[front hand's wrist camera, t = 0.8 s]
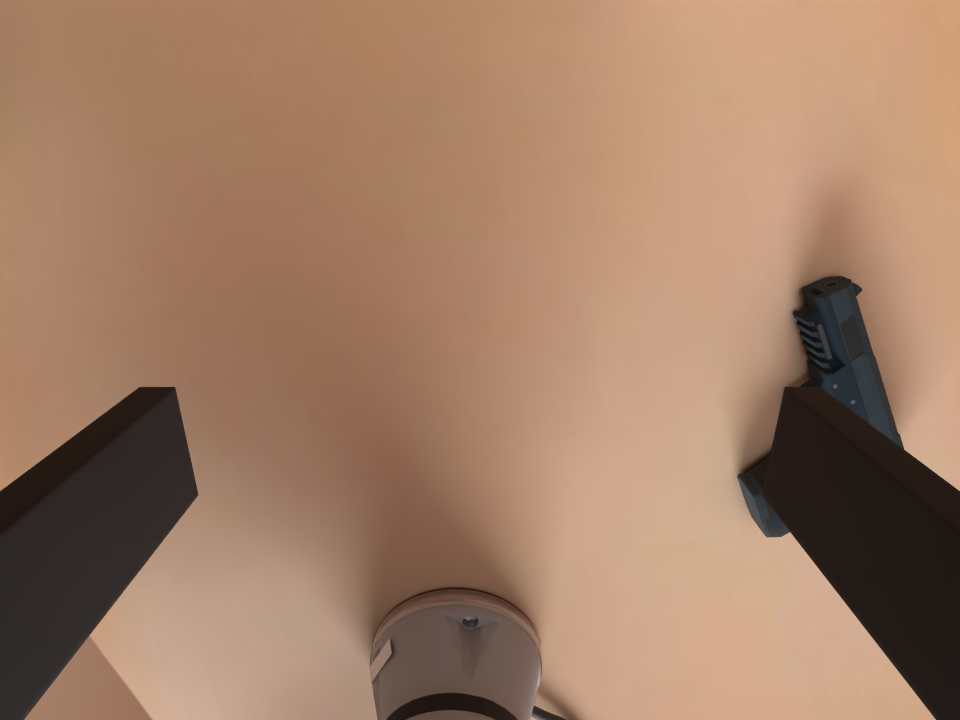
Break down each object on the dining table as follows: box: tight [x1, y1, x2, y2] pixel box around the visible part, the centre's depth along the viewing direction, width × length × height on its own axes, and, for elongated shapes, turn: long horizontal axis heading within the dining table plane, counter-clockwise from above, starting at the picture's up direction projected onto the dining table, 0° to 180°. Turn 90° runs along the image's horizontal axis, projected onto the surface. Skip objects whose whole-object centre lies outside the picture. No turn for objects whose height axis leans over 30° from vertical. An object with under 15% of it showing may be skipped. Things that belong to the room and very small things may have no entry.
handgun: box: [738, 276, 904, 537], centre depth 42 cm, size 3×18×12 cm
